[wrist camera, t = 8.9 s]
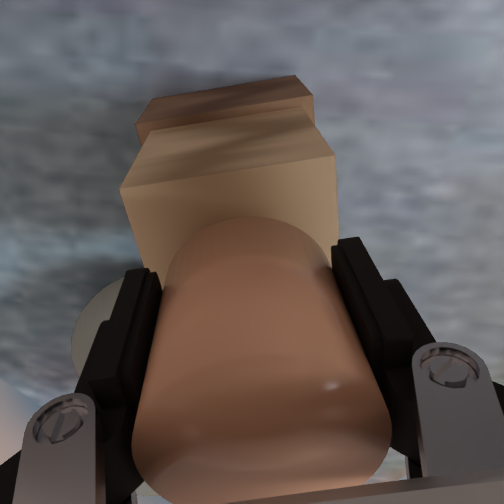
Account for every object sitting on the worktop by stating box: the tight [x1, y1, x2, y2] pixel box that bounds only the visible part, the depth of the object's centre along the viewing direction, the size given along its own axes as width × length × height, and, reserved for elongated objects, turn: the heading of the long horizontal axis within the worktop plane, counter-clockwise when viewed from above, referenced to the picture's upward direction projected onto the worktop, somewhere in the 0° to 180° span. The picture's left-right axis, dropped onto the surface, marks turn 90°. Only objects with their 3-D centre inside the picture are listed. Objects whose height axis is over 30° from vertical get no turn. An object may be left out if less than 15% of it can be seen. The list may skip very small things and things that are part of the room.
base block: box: [135, 75, 315, 146], centre depth 21 cm, size 7×7×5 cm
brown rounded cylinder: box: [131, 217, 392, 504], centre depth 10 cm, size 5×5×5 cm
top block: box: [119, 107, 339, 290], centre depth 16 cm, size 6×6×6 cm
